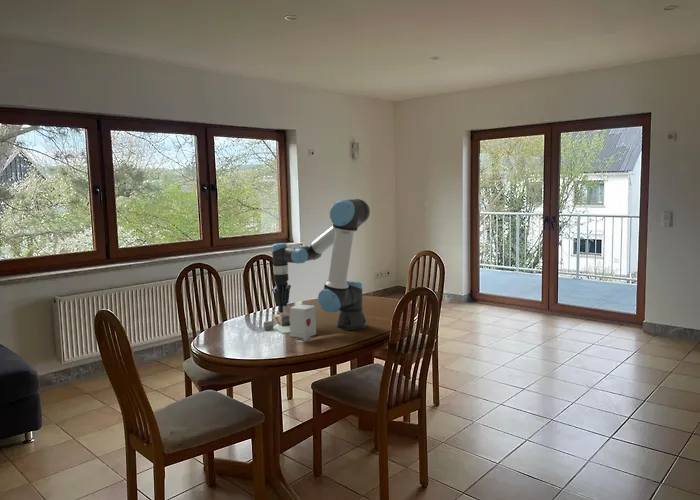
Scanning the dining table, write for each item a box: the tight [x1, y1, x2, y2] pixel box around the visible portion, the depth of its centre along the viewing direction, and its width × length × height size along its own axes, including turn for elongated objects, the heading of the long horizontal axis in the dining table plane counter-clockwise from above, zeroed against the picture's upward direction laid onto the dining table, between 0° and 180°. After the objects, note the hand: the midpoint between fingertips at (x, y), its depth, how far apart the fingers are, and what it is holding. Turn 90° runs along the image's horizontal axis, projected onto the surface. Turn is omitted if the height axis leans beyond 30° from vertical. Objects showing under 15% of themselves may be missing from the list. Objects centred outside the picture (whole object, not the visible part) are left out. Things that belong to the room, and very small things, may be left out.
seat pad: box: [273, 325, 290, 335], centre depth 264 cm, size 11×11×1 cm
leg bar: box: [272, 313, 290, 327], centre depth 277 cm, size 14×4×4 cm, turn 33°
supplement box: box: [289, 303, 317, 342], centre depth 253 cm, size 9×9×15 cm
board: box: [263, 320, 274, 331], centre depth 269 cm, size 28×22×5 cm
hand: (283, 318), depth 281 cm, fingers closed
